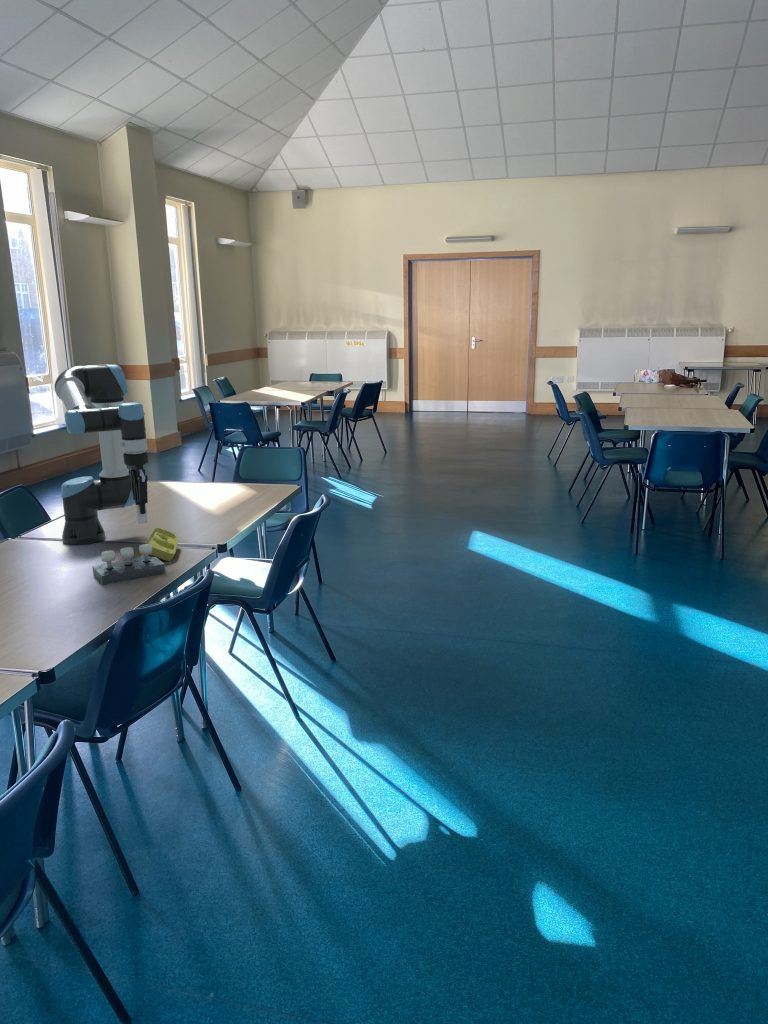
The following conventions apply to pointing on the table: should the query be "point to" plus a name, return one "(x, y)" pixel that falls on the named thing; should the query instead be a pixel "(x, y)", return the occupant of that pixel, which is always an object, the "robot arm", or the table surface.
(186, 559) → the table surface
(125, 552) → the knob mid
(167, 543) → the plastic component
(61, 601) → the table surface
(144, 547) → the knob
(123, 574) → the mount
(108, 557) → the knob
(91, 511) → the robot arm
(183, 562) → the table surface
